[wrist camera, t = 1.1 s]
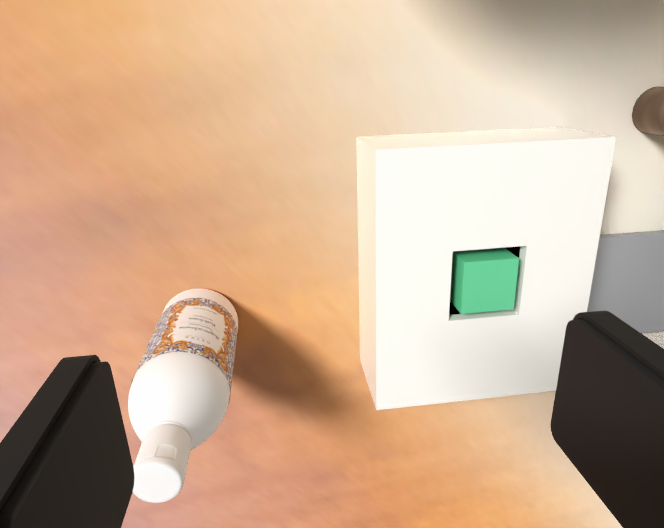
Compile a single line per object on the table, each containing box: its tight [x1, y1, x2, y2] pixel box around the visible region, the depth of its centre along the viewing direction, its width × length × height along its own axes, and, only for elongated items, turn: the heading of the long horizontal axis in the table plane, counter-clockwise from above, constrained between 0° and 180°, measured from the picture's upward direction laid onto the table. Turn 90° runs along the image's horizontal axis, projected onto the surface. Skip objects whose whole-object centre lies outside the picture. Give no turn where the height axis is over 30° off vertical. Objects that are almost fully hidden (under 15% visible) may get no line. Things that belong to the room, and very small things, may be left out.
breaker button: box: [450, 248, 519, 314], centre depth 41 cm, size 4×4×4 cm
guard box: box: [357, 127, 616, 410], centre depth 43 cm, size 22×18×8 cm
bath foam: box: [128, 288, 238, 503], centre depth 37 cm, size 7×7×20 cm
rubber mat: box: [587, 230, 664, 333], centre depth 50 cm, size 11×11×1 cm
